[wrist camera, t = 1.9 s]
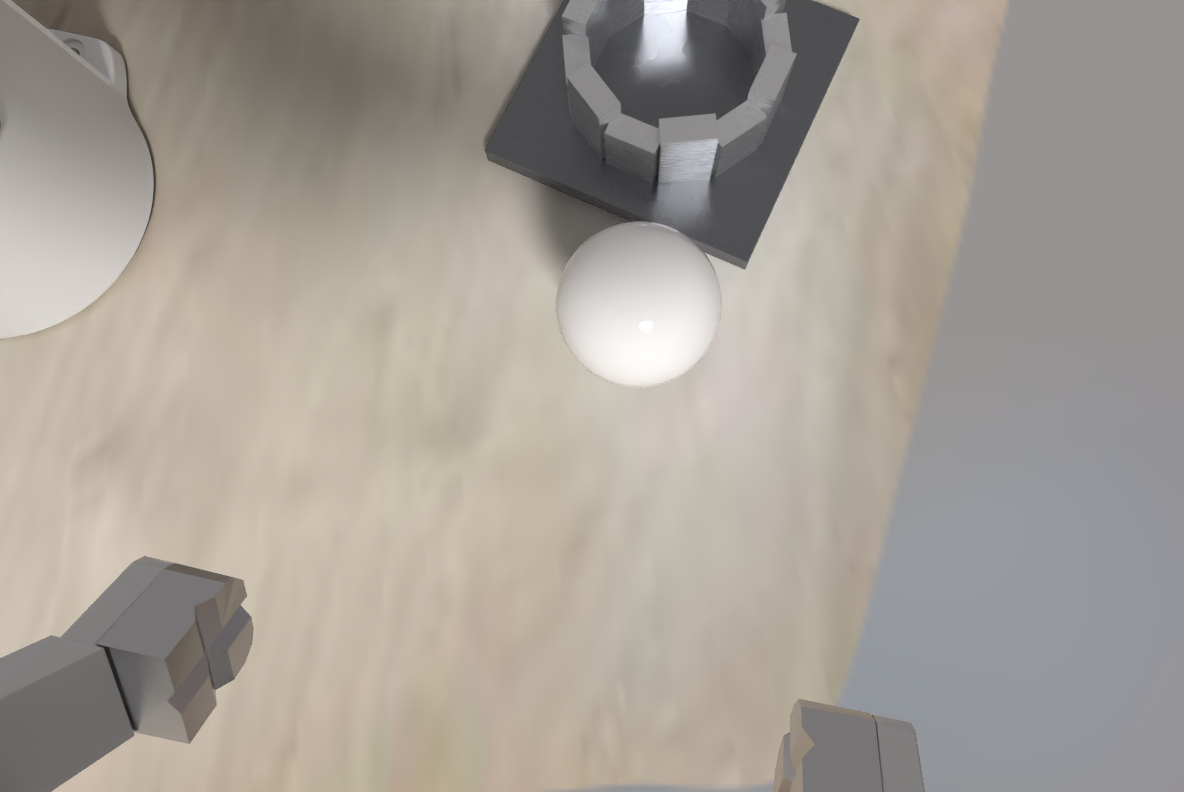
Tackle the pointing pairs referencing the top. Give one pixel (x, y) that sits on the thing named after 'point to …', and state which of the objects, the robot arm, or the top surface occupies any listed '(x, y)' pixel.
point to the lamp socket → (675, 109)
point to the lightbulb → (638, 304)
